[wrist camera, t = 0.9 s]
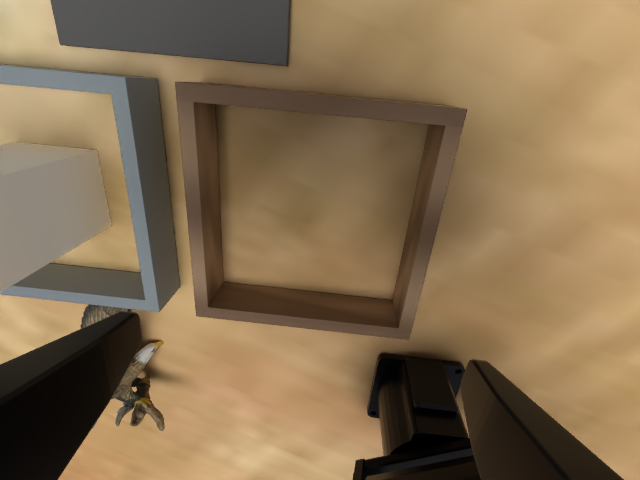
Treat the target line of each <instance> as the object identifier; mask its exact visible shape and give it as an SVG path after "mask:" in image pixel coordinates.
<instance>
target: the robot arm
mask: <svg viewBox="0 0 640 480" xmlns="http://www.w3.org/2000/svg"><path fill="white" fill-rule="evenodd" d="M141 341H142V332H141V324H140V318H139V315H138V314H137V313H135V312H128V311H121V312H118V313H116V314H114V315H111V316H109V317H107V318H105V319H102V320H100V321H98V322H96V323H93V324H91V325H89V326H87V327H84V328H82V329H80V330H78V331H75V332H73V333H71V334H69V335H66V336H64V337H62V338H60V339H57V340H55V341H53V342H51V343H48V344H46V345H44V346H42V347H39V348H37V349H35V350H32V351H30V352H28V353H26V354H23V355H21V356H19V357H17V358H14V359H12V360H10V361H8V362H5V363H3V364H1V365H0V480H58V478H59V477H60V475H61V474H62V472H63V471H64V469H65V468H66V466H67V465H68V463H69V462H70V460H71V459H72V457H73V456H74V454H75V453H76V451H77V450H78V448H79V447H80V445H81V444H82V442H83V441H84V439H85V438H86V436H87V435H88V433H89V432H90V430H91V429H92V427H93V426H94V424H95V423H96V421H97V420H98V418H99V417H100V415H101V414H102V412H103V411H104V409H105V408H106V406H107V405H108V403H109V402H110V400H111V398H112V397H113V395H114V393H115V392H116V390H117V388H118V386H119V384H120V382H121V380H122V379H123V377H124V375H125V373H126V371H127V369H128V367H129V365H130V364H131V362H132V360H133V358H134V356H135V354H136V352H137V350H138V349H139V347H140V345H141ZM383 361H385V362H383ZM456 369H458V370H456ZM459 387H460V388H461V395H462V400H463V405H464V410H465V416H466V421H467V426H468V431H469V436H468V433H467V430H466V428H465V425H464V422H463V419H462V416H461V413H460V411H459V407H458V404H457V401H456V396H457V393H458V390H459ZM367 413H368V415H369V416H370V417H374V418H380V425H381V435H382V445H383V454H384V456H381V457H376V458H372V459H367V460H365V459H360V460H356V463H355V470H354V474H353V480H624V479H623V478H621V477H620V476H619V475H618V474H617V473H616V472H614V471H613V470H612V469H611V468H610V467H609V466H607V465H606V464H605V463H604V462H603V461H602V460H601V459H599V458H598V457H597V456H596V455H595V454H594V453H592V452H591V451H590V450H589V449H588V448H587V447H586V446H584V445H583V444H582V443H581V442H580V441H579V440H577V439H576V438H575V437H574V436H573V435H572V434H571V433H569V432H568V431H567V430H566V429H565V428H564V427H562V426H561V425H560V424H559V423H558V422H557V421H556V420H554V419H553V418H552V417H551V416H550V415H549V414H547V413H546V412H545V411H544V410H543V409H542V408H541V407H539V406H538V405H537V404H536V403H535V402H534V401H532V400H531V399H530V398H529V397H528V396H527V395H526V394H524V393H523V392H522V391H521V390H520V389H519V388H517V387H516V386H515V385H514V384H513V383H512V382H511V381H509V380H508V379H507V378H506V377H505V376H504V375H502V374H501V373H500V372H499V371H498V370H497V369H496V368H494V367H493V366H492V365H491V364H490V363H488V362H487V361H483V360H476V359H472V360H470V361H469V362H468V365H467V367H466V370H465V369H464V366H463V364H461V363H459V362H450V361H441V360H432V359H423V358H415V357H406V356H397V355H388V354H382V355H380V356H379V357H378V359H377V363H376V368H375V373H374V378H373V383H372V387H371V392H370V397H369V402H368V407H367ZM469 437H470V438H469Z"/></svg>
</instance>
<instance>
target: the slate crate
mask: <svg viewBox="0 0 640 480" xmlns="http://www.w3.org/2000/svg"><path fill="white" fill-rule="evenodd" d="M0 84H9V85H20V86H30V87H41V88H52V89H62V90H73V91H83V92H94V93H104V94H111V95H112V101H113V108H114V114H115V120H116V126H117V132H118V138H119V144H120V150H121V156H122V162H123V168H124V174H125V180H126V186H127V192H128V198H129V204H130V210H131V216H132V222H133V228H134V234H135V240H136V246H137V252H138V258H139V264H140V270H141V273H136V272H127V271H118V270H108V269H99V268H90V267H81V266H71V265H62V264H53V263H49V264H47V265H45V266H44V267H42V268H40V269H39V270H37V271H35V272H34V273H32V274H30V275H29V276H27V277H25V278H24V279H22V280H20V281H19V282H17V283H16V284H14V285H12V286H11V287H9V288H7V289H6V290H4V291H2V292H1V293H0V294H1V295H10V296H19V297H28V298H37V299H46V300H55V301H64V302H73V303H82V304H91V305H100V306H109V307H118V308H127V309H136V310H145V311H154V312H160V311H161V310H162V308H163V307H164V306H165V305H166V303H167V302H168V301H169V300H170V299H171V297H172V296H173V295H174V294H175V292H176V291H177V290H178V289H179V288H180V280H179V271H178V262H177V253H176V244H175V235H174V226H173V217H172V208H171V199H170V190H169V180H168V171H167V162H166V153H165V144H164V135H163V126H162V117H161V108H160V99H159V90H158V81H157V78H147V77H137V76H126V75H115V74H104V73H94V72H83V71H72V70H62V69H51V68H40V67H29V66H19V65H8V64H0Z"/></svg>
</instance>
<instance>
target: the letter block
mask: <svg viewBox="0 0 640 480" xmlns="http://www.w3.org/2000/svg"><path fill="white" fill-rule="evenodd" d="M110 226H112V224H111V219H110V214H109V209H108V204H107V199H106V194H105V189H104V184H103V178H102V173H101V168H100V163H99V158H98V153H97V150H92V149H82V148H72V147H62V146H51V145H41V144H31V143H21V142H15V143H9V144H4V145H0V293H1V292H2V291H4V290H6V289H7V288H9V287H11V286H12V285H14V284H16V283H17V282H19V281H20V280H22V279H24V278H25V277H27V276H29V275H30V274H32V273H34V272H35V271H37V270H39V269H40V268H42V267H44V266H45V265H47V264H49V263H50V262H52V261H54V260H55V259H57V258H59V257H60V256H62V255H64V254H65V253H67V252H69V251H70V250H72V249H74V248H75V247H77V246H79V245H80V244H82V243H84V242H85V241H87V240H88V239H90V238H92V237H93V236H95V235H97V234H98V233H100V232H102V231H103V230H105V229H107V228H108V227H110Z"/></svg>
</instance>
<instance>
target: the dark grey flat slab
mask: <svg viewBox="0 0 640 480" xmlns="http://www.w3.org/2000/svg"><path fill="white" fill-rule="evenodd" d="M51 5H52V9H53V14H54V19H55V23H56V28H57V33H58V37H59V42H60V45H66V46H76V47H87V48H98V49H109V50H120V51H131V52H142V53H153V54H164V55H175V56H186V57H197V58H208V59H219V60H230V61H241V62H252V63H263V64H274V65H285V66H288V47H289V21H290V0H51Z"/></svg>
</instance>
